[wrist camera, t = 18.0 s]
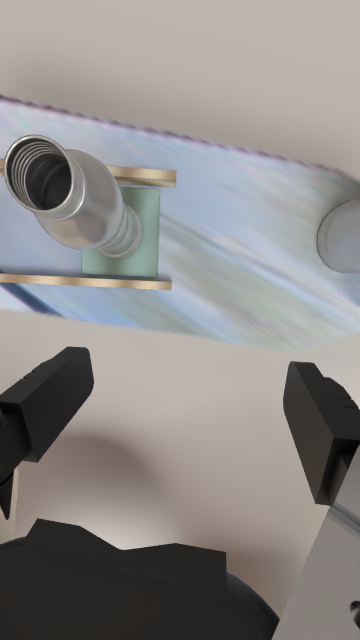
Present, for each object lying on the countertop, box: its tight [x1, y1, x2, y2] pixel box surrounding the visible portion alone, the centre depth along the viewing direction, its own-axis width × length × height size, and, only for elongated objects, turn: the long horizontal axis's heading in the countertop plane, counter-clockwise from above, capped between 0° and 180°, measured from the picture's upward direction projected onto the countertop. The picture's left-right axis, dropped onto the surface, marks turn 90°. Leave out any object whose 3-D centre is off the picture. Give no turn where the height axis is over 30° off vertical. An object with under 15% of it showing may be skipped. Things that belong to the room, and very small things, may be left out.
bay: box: [0, 159, 176, 290], centre depth 30 cm, size 24×14×4 cm, turn 87°
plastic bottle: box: [4, 135, 143, 260], centre depth 22 cm, size 6×7×20 cm
